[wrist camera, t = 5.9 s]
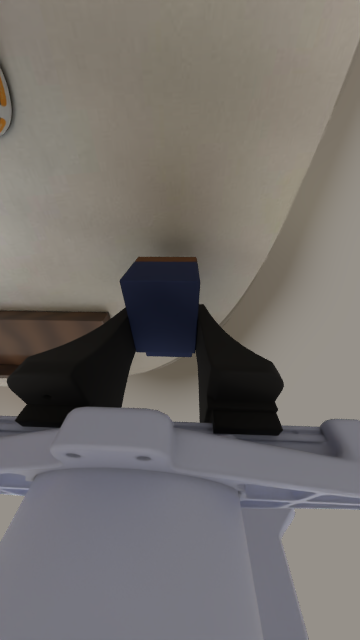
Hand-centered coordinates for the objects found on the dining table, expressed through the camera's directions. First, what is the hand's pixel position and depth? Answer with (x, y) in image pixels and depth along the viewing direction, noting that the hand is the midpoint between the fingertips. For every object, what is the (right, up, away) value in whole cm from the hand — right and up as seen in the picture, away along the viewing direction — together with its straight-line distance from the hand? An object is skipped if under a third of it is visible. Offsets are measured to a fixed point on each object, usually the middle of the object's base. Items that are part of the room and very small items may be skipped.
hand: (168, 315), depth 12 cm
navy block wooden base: (0, +1, +1) cm, 2 cm away
